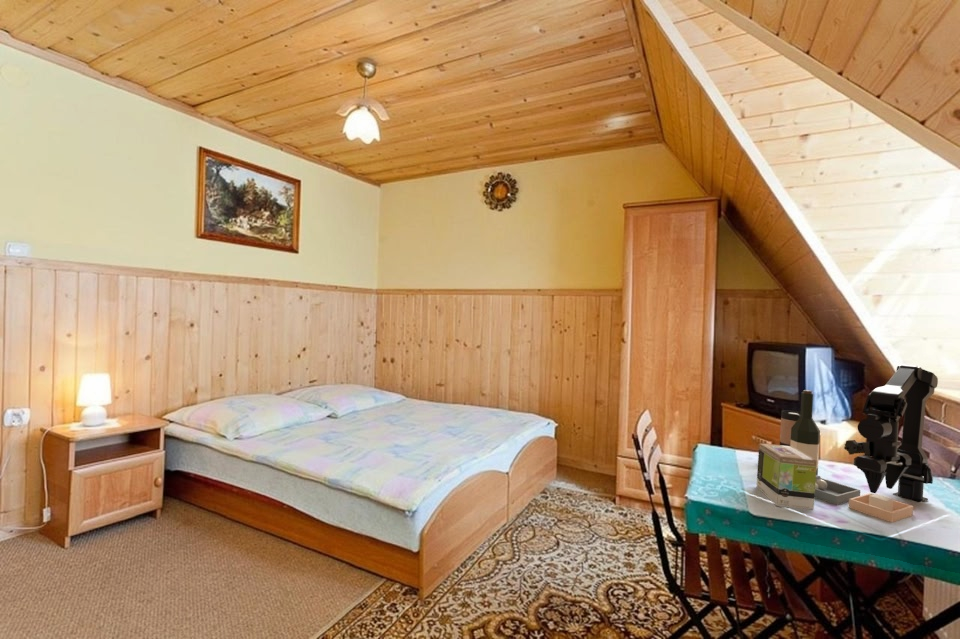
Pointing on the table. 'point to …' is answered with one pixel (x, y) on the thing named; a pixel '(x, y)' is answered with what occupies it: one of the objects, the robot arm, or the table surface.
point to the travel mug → (787, 426)
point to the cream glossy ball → (821, 484)
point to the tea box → (786, 476)
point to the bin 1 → (836, 492)
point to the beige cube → (881, 502)
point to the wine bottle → (806, 429)
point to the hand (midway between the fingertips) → (881, 490)
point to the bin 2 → (898, 509)
